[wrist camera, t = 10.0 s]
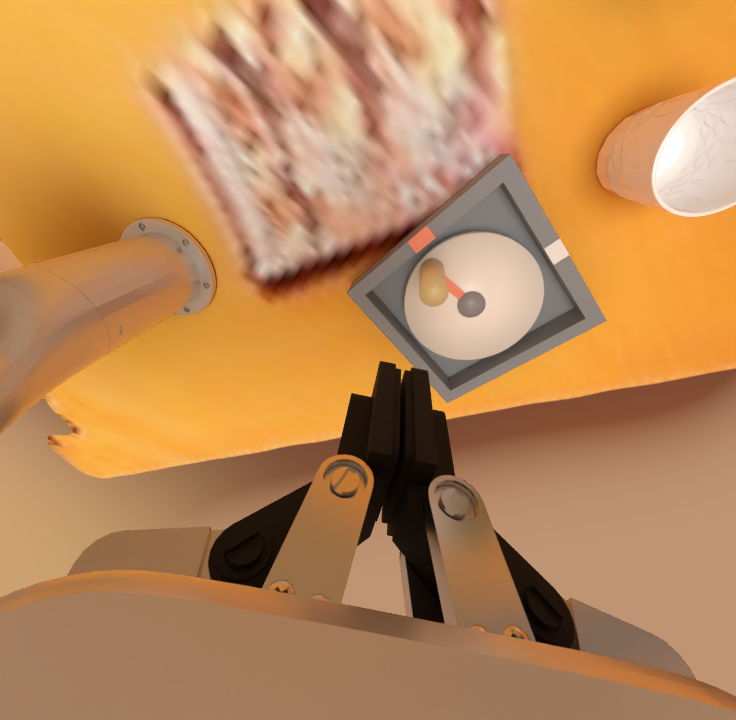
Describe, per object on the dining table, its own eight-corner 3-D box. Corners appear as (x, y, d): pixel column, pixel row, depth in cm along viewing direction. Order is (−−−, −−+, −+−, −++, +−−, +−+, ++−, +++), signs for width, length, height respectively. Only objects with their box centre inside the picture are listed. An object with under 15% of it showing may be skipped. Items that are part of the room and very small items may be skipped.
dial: (567, 290, 35) (607, 326, 27) (466, 371, 42) (475, 416, 35) (472, 197, 31) (488, 209, 24) (380, 303, 39) (370, 338, 31)
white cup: (649, 209, 31) (733, 228, 22) (571, 191, 31) (626, 203, 23) (713, 109, 26) (847, 86, 18) (622, 88, 27) (713, 56, 18)
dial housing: (445, 385, 46) (447, 404, 42) (353, 281, 39) (346, 293, 36) (589, 306, 37) (607, 321, 33) (500, 154, 30) (511, 153, 27)
